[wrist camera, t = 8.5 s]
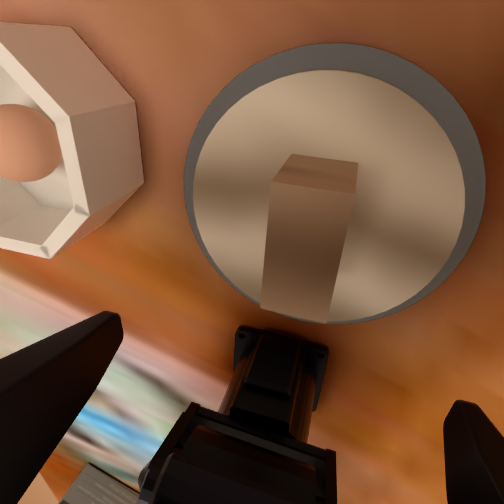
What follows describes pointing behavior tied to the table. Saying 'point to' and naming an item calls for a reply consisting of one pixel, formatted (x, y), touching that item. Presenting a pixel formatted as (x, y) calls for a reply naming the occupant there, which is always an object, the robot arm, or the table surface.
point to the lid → (328, 195)
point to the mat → (389, 71)
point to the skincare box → (98, 489)
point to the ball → (27, 144)
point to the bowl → (66, 139)
